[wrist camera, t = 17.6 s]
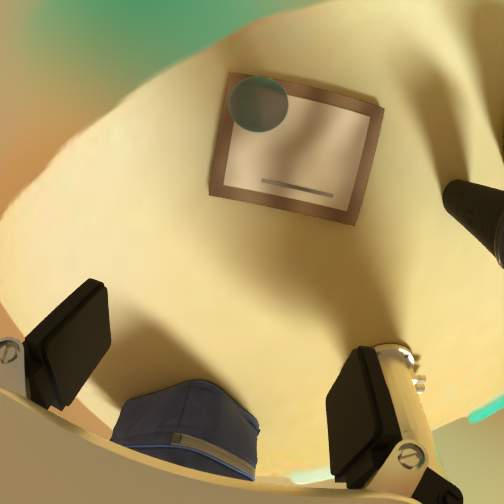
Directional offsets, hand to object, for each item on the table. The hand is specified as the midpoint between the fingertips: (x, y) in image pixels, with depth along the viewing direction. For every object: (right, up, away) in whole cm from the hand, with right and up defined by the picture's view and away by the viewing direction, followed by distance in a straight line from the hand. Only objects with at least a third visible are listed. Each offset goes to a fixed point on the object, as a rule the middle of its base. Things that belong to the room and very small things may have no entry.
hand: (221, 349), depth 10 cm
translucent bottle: (+2, +18, +18) cm, 26 cm away
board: (+6, +15, +21) cm, 26 cm away
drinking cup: (+28, +11, +21) cm, 36 cm away
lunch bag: (-12, -31, +43) cm, 54 cm away
